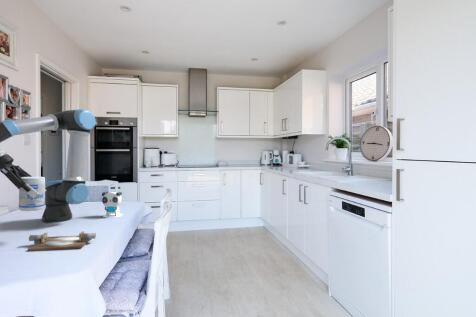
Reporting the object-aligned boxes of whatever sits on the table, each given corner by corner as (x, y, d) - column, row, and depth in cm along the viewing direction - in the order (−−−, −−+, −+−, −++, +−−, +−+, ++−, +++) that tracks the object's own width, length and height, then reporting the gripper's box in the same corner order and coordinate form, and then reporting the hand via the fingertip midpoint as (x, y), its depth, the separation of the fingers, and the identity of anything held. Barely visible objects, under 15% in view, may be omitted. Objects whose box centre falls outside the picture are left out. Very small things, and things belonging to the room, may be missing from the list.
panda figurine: (97, 217, 173) (97, 192, 173) (109, 213, 184) (109, 190, 184) (115, 218, 171) (115, 193, 171) (126, 214, 182) (126, 191, 182)
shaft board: (40, 239, 130) (39, 229, 130) (100, 236, 134) (100, 227, 134) (19, 251, 114) (19, 240, 114) (88, 248, 119) (88, 237, 118)
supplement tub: (28, 212, 123) (28, 178, 122) (13, 210, 126) (13, 177, 125) (49, 208, 132) (50, 177, 132) (35, 206, 135) (35, 176, 135)
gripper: (3, 163, 134) (41, 196, 139) (-23, 166, 113) (23, 204, 118) (16, 152, 136) (54, 185, 141) (-7, 153, 115) (38, 191, 120)
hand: (40, 194), depth 130 cm, fingers closed on supplement tub, 10 cm apart
